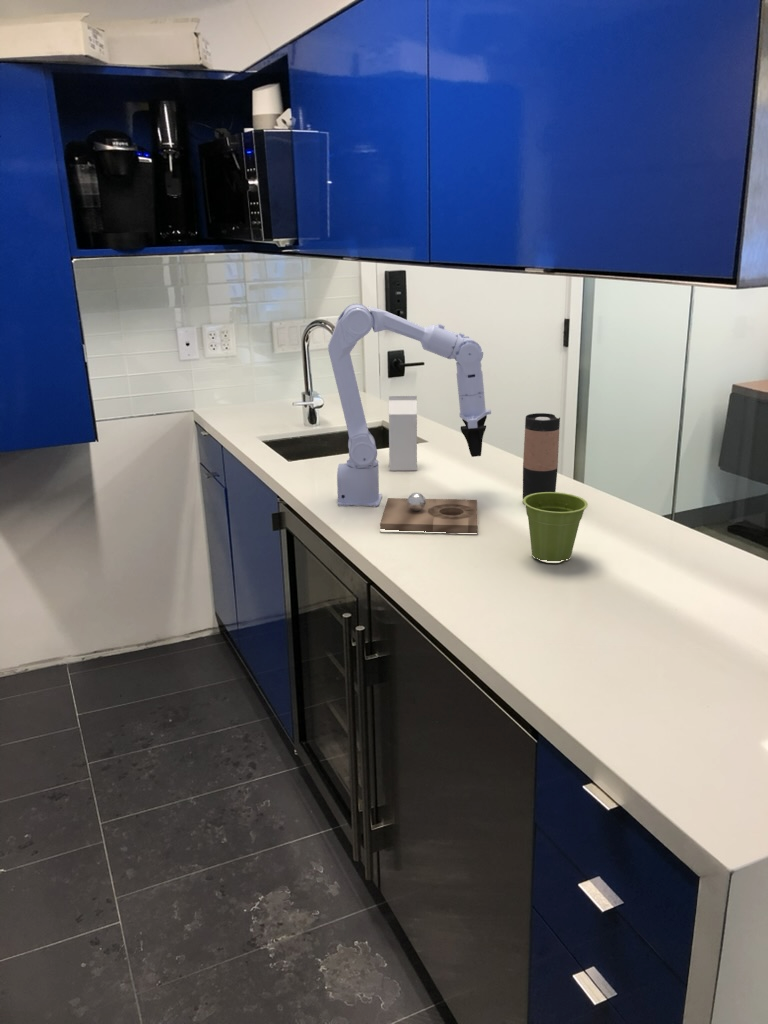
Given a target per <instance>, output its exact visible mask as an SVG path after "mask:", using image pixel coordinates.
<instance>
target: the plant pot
mask: <svg viewBox="0 0 768 1024" xmlns="http://www.w3.org/2000/svg"><path fill="white" fill-rule="evenodd" d="M523 503H524V506H525V511H526V516H527V518H528V519H527V521H528V529H529V538H530V539H529V541H530V548H531V549H530V550H531V556H532V555H533V556H534V557H535V558H538V559H540V560H547V561H561V560H566V559H569V558H570V557H572V553H573V549H574V545H575V541H576V538H577V534H578V531H579V526H580V522H581V520H582V519H583V515H584V512H585V510H586V509H587V508H588V505H589V503H588V502H587V500H585V499H584V498H583V497H580V496H577V495H574V494H572V493H570V494H569V493H565V492H541V493H534V494H530V495H528V496H526V497H524V499H523V498H522V504H523ZM533 556H532V557H533ZM538 559H537V560H538ZM570 559H571V558H570Z"/></svg>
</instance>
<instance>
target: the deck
mask: <svg viewBox="0 0 768 1024" xmlns="http://www.w3.org/2000/svg"><path fill="white" fill-rule="evenodd" d="M407 499H408V497H407V498H406V497H405V498H404V497H400V498H399V497H388V498H387V500H386V503H385V506H384V509H383V513H382V516H381V519H380V522H379V530H380V529H385V530H399V531H424V532H425V531H426V532H446V533H477V534H478V525H479V524H478V523H479V522H478V499H463V498H462V499H458V498H456V499H455V498H448V499H447V498H425V500H426V504H425V507H424V508H423V509H422V510H420V511H413V510H411V509H410V508H409V507H408V505H407Z"/></svg>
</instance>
